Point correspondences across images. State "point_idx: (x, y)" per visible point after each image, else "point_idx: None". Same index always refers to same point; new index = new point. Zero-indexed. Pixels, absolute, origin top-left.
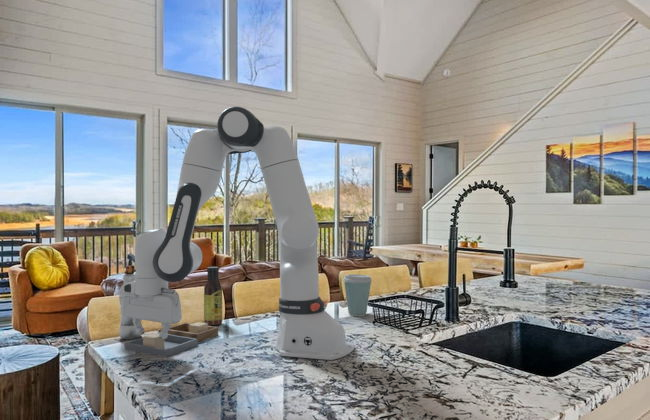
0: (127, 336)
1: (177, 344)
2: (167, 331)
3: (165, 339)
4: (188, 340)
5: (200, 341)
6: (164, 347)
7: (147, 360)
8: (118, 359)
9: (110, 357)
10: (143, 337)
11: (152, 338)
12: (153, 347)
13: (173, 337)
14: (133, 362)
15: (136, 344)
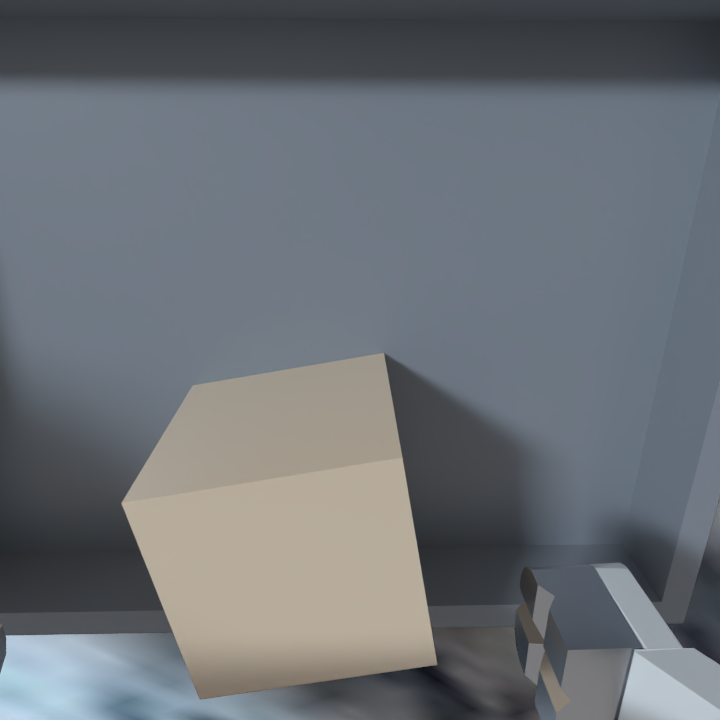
0: None
1: (417, 118)
2: (690, 659)
3: (5, 11)
4: (628, 7)
5: None
6: (353, 325)
7: (479, 627)
8: (196, 708)
9: (70, 706)
10: (215, 691)
11: (394, 663)
12: (457, 612)
13: (211, 3)
14: (400, 701)
15: (129, 619)
